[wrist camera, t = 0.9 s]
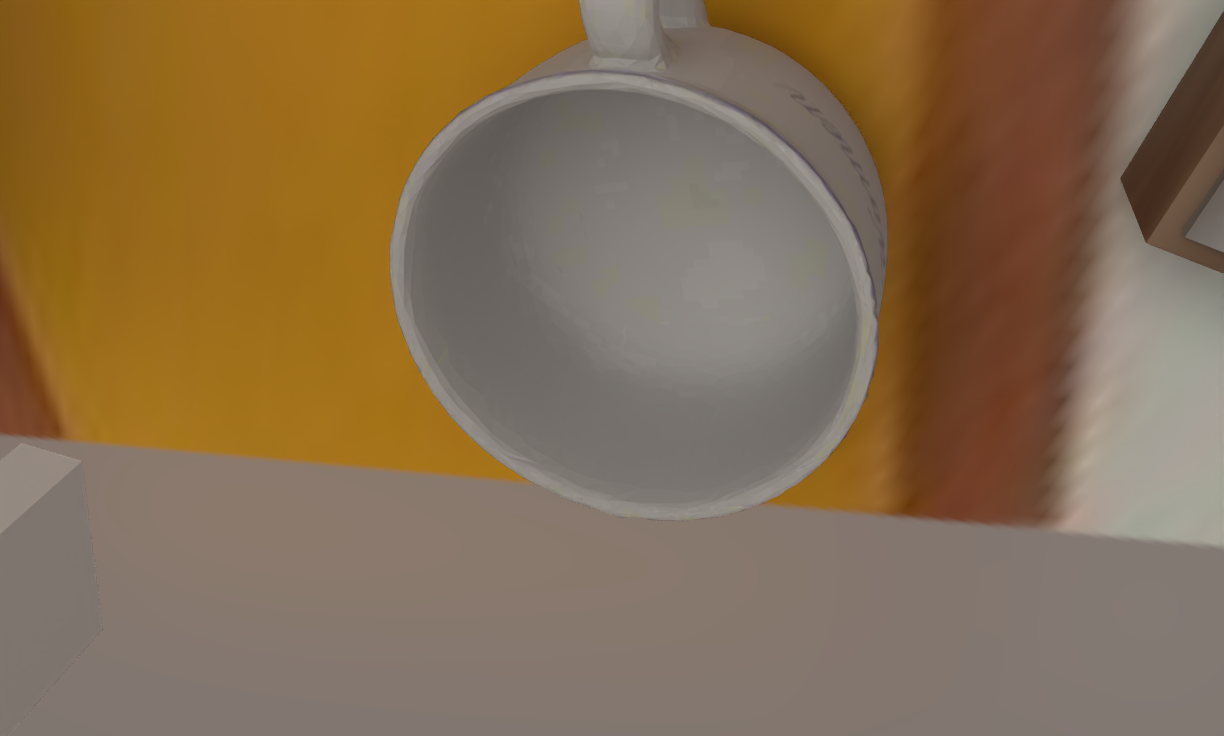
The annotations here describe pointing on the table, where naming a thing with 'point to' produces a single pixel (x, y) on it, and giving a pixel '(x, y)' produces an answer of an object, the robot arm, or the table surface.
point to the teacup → (648, 267)
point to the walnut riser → (1185, 164)
